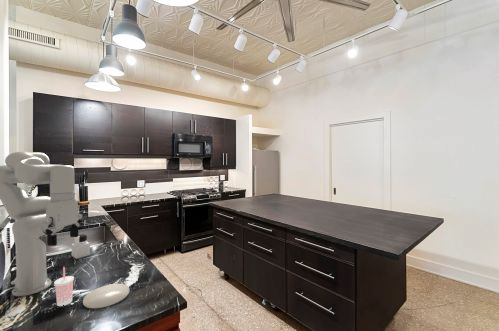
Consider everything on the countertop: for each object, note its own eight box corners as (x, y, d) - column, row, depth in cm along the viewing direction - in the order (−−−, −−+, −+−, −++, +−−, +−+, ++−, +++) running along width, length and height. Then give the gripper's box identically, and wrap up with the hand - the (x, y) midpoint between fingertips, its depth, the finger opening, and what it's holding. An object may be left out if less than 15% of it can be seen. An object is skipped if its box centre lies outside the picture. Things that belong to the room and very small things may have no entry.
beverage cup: (70, 296, 96) (69, 262, 96) (77, 300, 93) (76, 265, 92) (51, 304, 91) (50, 268, 90) (58, 309, 87) (58, 272, 87)
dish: (72, 308, 88) (72, 305, 88) (103, 285, 104) (103, 282, 104) (112, 310, 86) (112, 307, 86) (137, 287, 102) (137, 284, 102)
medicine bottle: (85, 252, 142) (85, 232, 142) (90, 254, 138) (90, 234, 138) (71, 256, 137) (71, 235, 136) (76, 259, 132) (75, 238, 132)
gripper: (72, 193, 100) (73, 233, 100) (31, 200, 83) (32, 249, 83) (89, 193, 99) (90, 234, 99) (50, 200, 82) (51, 249, 82)
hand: (63, 240), depth 91 cm, fingers open, 9 cm apart
